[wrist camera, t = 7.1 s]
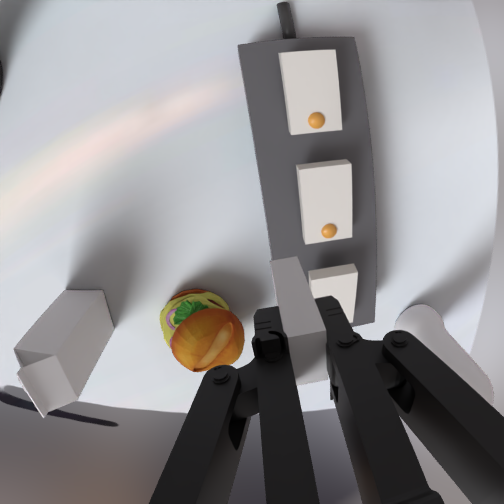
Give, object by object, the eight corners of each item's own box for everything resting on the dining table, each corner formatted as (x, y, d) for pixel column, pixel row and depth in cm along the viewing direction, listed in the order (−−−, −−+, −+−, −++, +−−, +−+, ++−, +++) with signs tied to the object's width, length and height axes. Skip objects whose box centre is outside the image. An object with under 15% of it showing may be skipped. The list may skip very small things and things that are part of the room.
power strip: (230, 12, 28) (228, -7, 23) (331, 4, 28) (344, -13, 22) (280, 317, 43) (284, 343, 38) (362, 302, 43) (376, 325, 37)
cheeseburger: (157, 279, 41) (157, 321, 32) (235, 277, 44) (255, 317, 35) (161, 340, 44) (164, 387, 35) (231, 336, 47) (247, 381, 38)
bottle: (392, 349, 46) (467, 503, 19) (388, 312, 43) (486, 479, 16) (433, 332, 46) (522, 468, 18) (433, 294, 43) (546, 436, 15)
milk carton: (103, 289, 41) (39, 379, 24) (115, 329, 44) (67, 423, 26) (64, 289, 41) (-4, 369, 24) (77, 327, 44) (23, 412, 26)
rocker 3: (308, 270, 33) (311, 281, 31) (353, 263, 32) (358, 273, 31) (310, 320, 37) (312, 330, 36) (349, 313, 37) (353, 323, 36)
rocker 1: (278, 52, 24) (280, 53, 23) (330, 49, 24) (335, 49, 23) (288, 131, 29) (291, 135, 28) (337, 126, 29) (342, 130, 28)
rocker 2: (296, 164, 29) (299, 170, 27) (346, 159, 29) (351, 164, 27) (302, 237, 33) (305, 245, 32) (347, 230, 33) (352, 238, 32)
